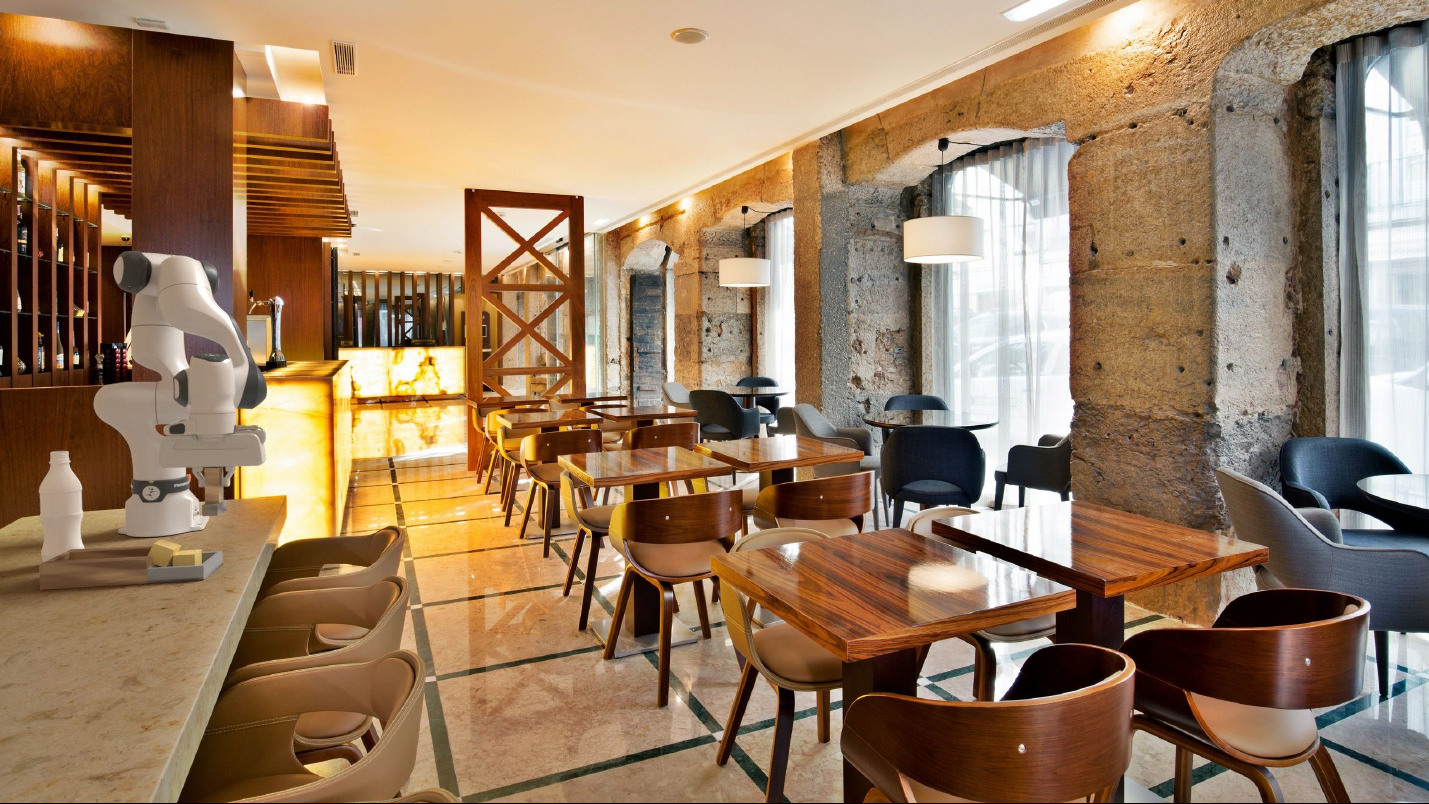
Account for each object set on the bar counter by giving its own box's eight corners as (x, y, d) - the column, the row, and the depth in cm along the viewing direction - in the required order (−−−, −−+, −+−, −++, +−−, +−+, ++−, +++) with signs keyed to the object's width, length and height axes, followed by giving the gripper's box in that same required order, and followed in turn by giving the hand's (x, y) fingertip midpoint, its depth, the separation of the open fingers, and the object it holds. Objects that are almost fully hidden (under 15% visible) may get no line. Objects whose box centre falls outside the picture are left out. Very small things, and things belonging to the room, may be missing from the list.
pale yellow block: (153, 556, 161) (161, 538, 161) (173, 562, 162) (181, 545, 162) (145, 561, 157) (153, 543, 157) (165, 567, 158) (174, 550, 158)
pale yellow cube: (180, 550, 163) (201, 549, 164) (180, 568, 163) (201, 567, 164) (172, 555, 159) (194, 554, 160) (173, 573, 159) (195, 572, 160)
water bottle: (59, 570, 161) (55, 454, 160) (32, 568, 163) (28, 453, 161) (93, 561, 168) (89, 450, 167) (67, 559, 170) (63, 449, 168)
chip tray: (170, 567, 165) (170, 553, 165) (222, 564, 168) (222, 551, 168) (147, 583, 154) (146, 568, 154) (203, 580, 157) (203, 565, 157)
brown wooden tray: (71, 572, 160) (70, 549, 160) (170, 567, 165) (169, 544, 165) (40, 589, 149) (39, 564, 148) (147, 583, 154) (146, 559, 154)
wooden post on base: (211, 511, 173) (210, 465, 172) (226, 510, 174) (225, 465, 173) (202, 516, 167) (201, 469, 167) (217, 515, 168) (216, 468, 167)
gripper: (269, 423, 176) (270, 482, 176) (166, 424, 170) (167, 485, 170) (261, 426, 170) (262, 487, 170) (154, 427, 164) (156, 490, 164)
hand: (214, 486), depth 170 cm, fingers closed on wooden post on base, 3 cm apart
